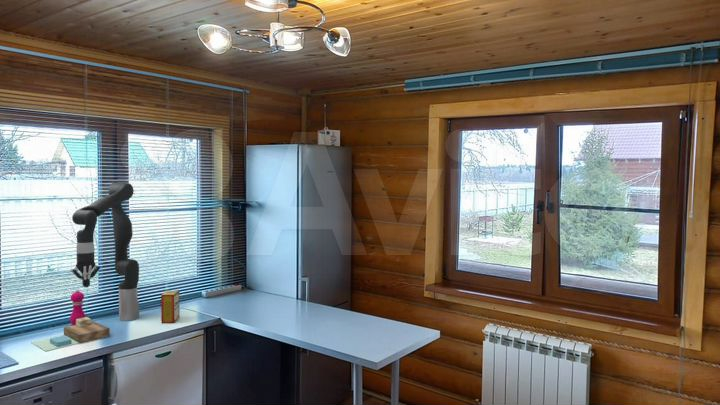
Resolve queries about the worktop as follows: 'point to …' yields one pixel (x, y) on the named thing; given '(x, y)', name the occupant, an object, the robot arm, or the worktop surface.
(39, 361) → the worktop surface
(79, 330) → the brown shallow rectangular piece
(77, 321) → the block
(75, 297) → the pepper mill
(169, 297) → the baking soda box
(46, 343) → the mat
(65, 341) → the teal sponge
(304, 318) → the worktop surface
